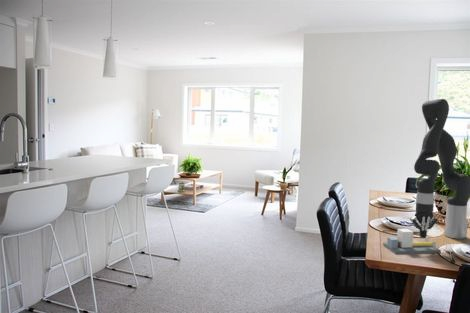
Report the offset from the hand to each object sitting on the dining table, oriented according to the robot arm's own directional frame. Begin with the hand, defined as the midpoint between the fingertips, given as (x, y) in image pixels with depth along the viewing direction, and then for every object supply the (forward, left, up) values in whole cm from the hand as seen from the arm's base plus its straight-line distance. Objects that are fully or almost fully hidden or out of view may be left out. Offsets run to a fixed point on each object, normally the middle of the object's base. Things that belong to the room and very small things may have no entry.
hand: (422, 237), depth 194 cm
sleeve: (+9, 0, -4) cm, 10 cm away
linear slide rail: (+6, 0, -5) cm, 8 cm away
